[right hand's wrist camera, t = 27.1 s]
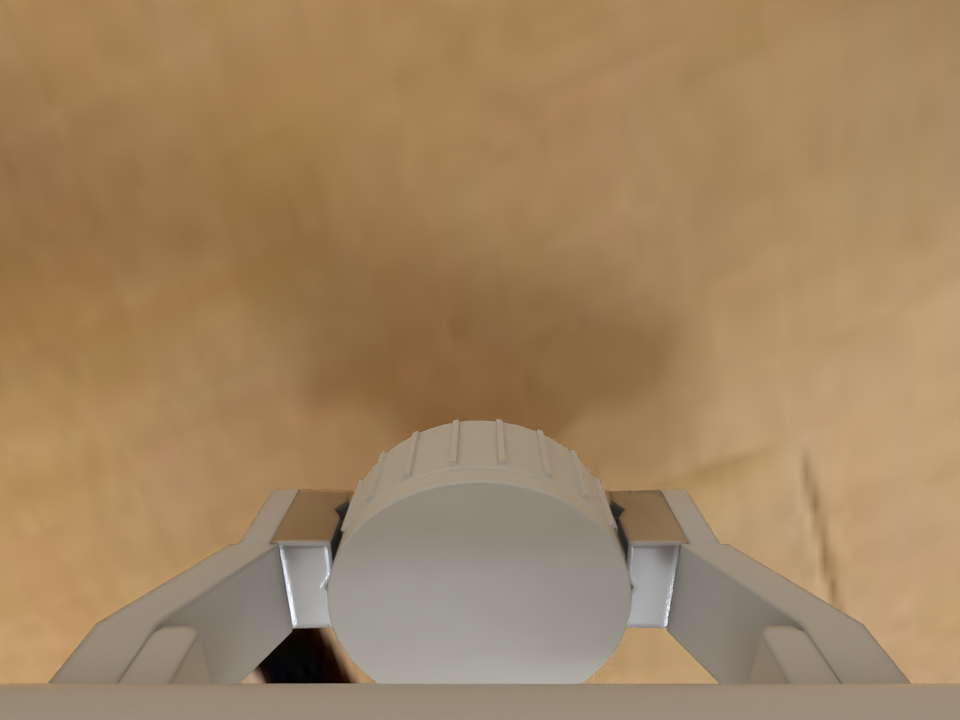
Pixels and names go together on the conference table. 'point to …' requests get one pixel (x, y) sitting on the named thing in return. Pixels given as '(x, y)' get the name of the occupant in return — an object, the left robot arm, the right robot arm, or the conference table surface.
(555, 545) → the lid
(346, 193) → the conference table surface
